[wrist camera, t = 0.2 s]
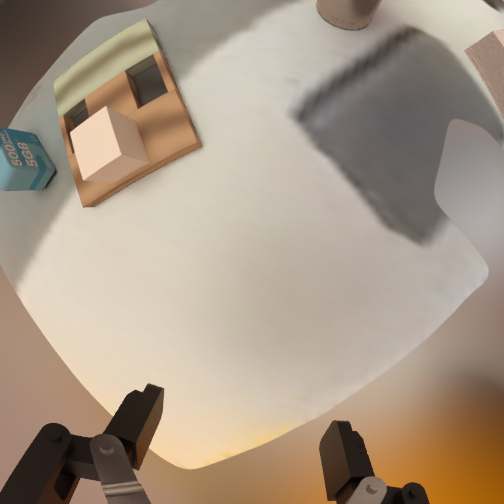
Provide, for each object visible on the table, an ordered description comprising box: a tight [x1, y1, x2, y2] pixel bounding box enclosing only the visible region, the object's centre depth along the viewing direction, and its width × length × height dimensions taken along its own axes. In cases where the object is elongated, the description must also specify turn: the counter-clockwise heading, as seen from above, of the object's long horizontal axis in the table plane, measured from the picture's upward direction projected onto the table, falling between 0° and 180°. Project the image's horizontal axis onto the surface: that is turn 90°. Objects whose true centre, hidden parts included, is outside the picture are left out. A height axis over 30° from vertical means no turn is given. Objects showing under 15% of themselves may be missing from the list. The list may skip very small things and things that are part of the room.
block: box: [70, 106, 150, 183], centre depth 31 cm, size 7×6×8 cm
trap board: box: [53, 18, 202, 208], centre depth 35 cm, size 26×20×3 cm
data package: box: [0, 127, 55, 191], centre depth 33 cm, size 12×4×12 cm, turn 42°
